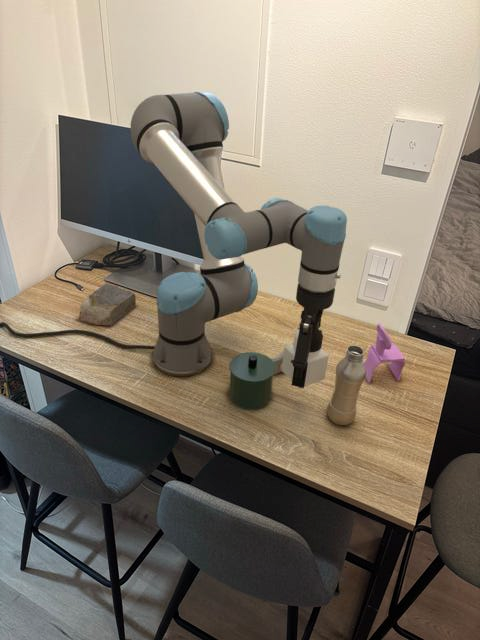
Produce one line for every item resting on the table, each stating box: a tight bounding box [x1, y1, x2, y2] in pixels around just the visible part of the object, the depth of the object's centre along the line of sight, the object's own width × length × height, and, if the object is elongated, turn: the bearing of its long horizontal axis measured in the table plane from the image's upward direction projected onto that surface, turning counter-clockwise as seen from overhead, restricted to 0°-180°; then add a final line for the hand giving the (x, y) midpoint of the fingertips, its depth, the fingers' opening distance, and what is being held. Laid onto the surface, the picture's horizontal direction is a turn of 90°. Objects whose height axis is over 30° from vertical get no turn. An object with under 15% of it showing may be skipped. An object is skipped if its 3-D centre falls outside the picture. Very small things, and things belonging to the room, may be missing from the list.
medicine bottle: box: [281, 327, 330, 389], centre depth 107 cm, size 7×7×12 cm
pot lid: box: [228, 351, 275, 383], centre depth 113 cm, size 11×11×4 cm
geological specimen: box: [78, 282, 137, 327], centre depth 144 cm, size 11×6×15 cm
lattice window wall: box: [269, 350, 284, 375], centre depth 126 cm, size 12×2×6 cm, turn 117°
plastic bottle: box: [326, 344, 366, 426], centre depth 108 cm, size 6×7×20 cm
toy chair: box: [363, 323, 406, 383], centre depth 123 cm, size 8×9×15 cm
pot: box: [229, 372, 274, 410], centre depth 116 cm, size 10×10×8 cm
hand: (303, 371), depth 109 cm, fingers closed on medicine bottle, 10 cm apart
